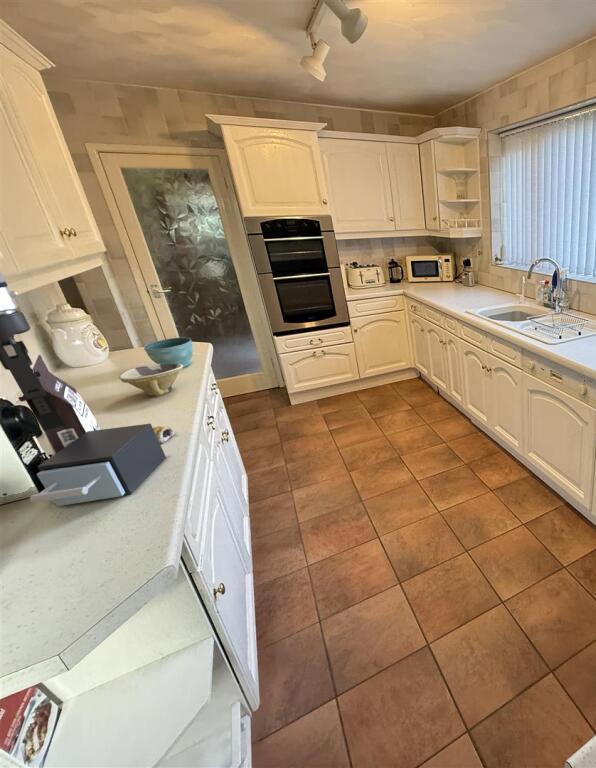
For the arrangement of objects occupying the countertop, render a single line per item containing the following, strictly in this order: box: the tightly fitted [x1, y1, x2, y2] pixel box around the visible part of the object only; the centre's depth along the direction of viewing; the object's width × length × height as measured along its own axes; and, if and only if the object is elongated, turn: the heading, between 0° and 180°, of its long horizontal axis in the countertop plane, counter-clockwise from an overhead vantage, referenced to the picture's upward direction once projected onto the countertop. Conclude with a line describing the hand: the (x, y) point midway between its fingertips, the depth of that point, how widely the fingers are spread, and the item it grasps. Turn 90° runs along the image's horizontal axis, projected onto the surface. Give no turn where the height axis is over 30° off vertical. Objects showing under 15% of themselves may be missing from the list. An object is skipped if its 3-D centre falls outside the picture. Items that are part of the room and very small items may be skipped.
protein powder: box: [32, 354, 102, 455], centre depth 104 cm, size 16×9×28 cm, turn 44°
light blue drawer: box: [29, 460, 125, 507], centre depth 92 cm, size 21×13×9 cm, turn 15°
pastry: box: [152, 425, 176, 444], centre depth 116 cm, size 9×7×4 cm
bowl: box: [118, 363, 184, 397], centre depth 147 cm, size 18×18×10 cm
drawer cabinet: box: [37, 423, 167, 496], centre depth 97 cm, size 16×14×11 cm
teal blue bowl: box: [143, 337, 194, 368], centre depth 172 cm, size 16×16×11 cm
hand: (48, 417), depth 79 cm, fingers open, 13 cm apart
